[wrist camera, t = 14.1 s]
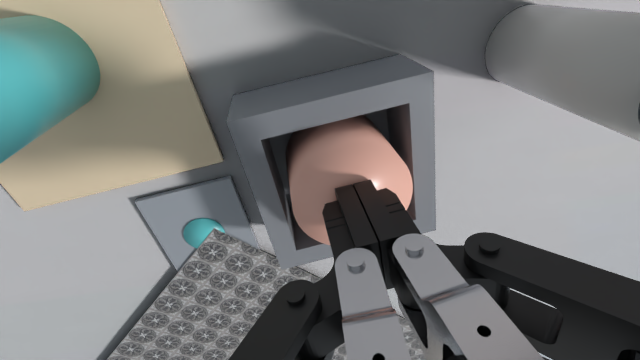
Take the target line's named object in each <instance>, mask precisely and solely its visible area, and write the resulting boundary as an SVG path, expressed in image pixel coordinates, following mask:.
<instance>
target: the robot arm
mask: <svg viewBox="0 0 640 360" xmlns="http://www.w3.org/2000/svg"><path fill="white" fill-rule="evenodd" d="M335 194H336V199H337V201H333V202H329V203H326V204H325V206H324V209H323V212H322V214H323V218H324V222H325V226H326V230H327V234H328V238H329V242H330V246H331V250H332V253H333V257H334V265H333V267H332V269H331V271H330V272H329V273H328V274H327V275H326V276H325V277H324V278H322V279H321V280H319V281H317V282H315V283H312V282H310V281H308V280H302V279H300V280H294V281H291V282H289V283H287V284H285V285H284V286H283V287H281V288H280V290H279V291H278V292H277V293H276V295H275V296H274V298H273V299H272V300H271V302H270V303H269V304H268V306H267V307H266V309H265V310H264V311H263V313H262V314H261V315H260V317H259V318H258V320H257V321H256V322H255V324H254V325H253V326H252V328H251V329H250V331H249V332H248V333H247V335H246V336H245V338H244V339H243V340H242V342H241V343H240V344H239V346H238V347H237V349H236V350H235V351H234V353H233V354H232V355H231V357H230V358H229V360H331V359H332V357H333V355H334V351H335V349H336V348H337V347H339V346H340V345H342V344H343V343H345V347H346V353H347V360H411V357H410V354H409V351H408V348H407V345H406V342H405V338H404V335H403V332H402V329H401V326H400V323H399V320H398V316H397V314H396V311H395V309H393V308H392V305H391V302H390V299H389V296H388V292H387V289H391V288H395V291H396V293H397V295H398V303H399V307H400V309H401V311H402V313H403V315H404V317H405V319H406V321H407V323H408V325H409V326H410V328H411V330H412V332H413V334H414V336H415V338H416V340H417V342H418V344H419V346H420V347H421V349H422V351H423V353H424V355H425V358H426V360H549V359H547V358H544V357H542V356H541V355H540V354H539V353H541V354H543V355H545V356H547V357H549V358H551V359H553V360H640V282H639V281H636V280H633V279H630V278H627V277H624V276H621V275H618V274H615V273H612V272H609V271H606V270H603V269H600V268H597V267H594V266H591V265H588V264H585V263H582V262H579V261H576V260H573V259H570V258H567V257H564V256H561V255H558V254H555V253H552V252H549V251H546V250H543V249H540V248H537V247H534V246H531V245H528V244H525V243H522V242H519V241H516V240H513V239H510V238H507V237H504V236H501V235H497V234H494V233H486V232H485V233H477V234H474V235H471V236H470V237H468V238H467V240H466V241H465V244H464V246H446V245H439V244H435V242H434V241H433V240H432V239H430V238H429V237H427V236H425V235H422V234H421V233H420V231H419V229H418V228H417V226H416V225H415V223H414V222H413V220H412V218H411V217H410V215H409V214H408V212H407V211H406V210H405V207H404V206H403V204H402V203H401V201H400V200H399V198H398V197H397V195H396V194H395V193H394V192H392V191H390V190H389V189H387V188H384V189H380V190H376V188H375V186H374V184H373V183H372V181H371V180H366V181H362V182H358V183H354V184H353V185H352V184H350V185H346V186H342V187H338V188H335ZM510 288H512V289H514V290H517V291H519V292H521V293H524V294H526V295H529V296H531V297H533V298H536V299H538V300H540V301H543V302H545V303H548V304H550V305H552V306H554V307H555V308H557V309H555V308H553V307H550V306H548V305H545V304H543V303H541V302H538V301H536V300H534V299H531V298H529V297H527V296H524V295H522V294H519V293H517V292H515V291H512V290H510ZM538 352H539V353H538Z"/></svg>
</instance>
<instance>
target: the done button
mask: <svg viewBox="0 0 640 360" xmlns="http://www.w3.org/2000/svg"><path fill="white" fill-rule="evenodd" d="M286 166H287V173H288V180H289V187H290V195H291V202H292V209H293V214H294V217H295V219H296V221H297V223H298V225H299V226H300V228H301V229H302V230H303V231H304V232H305V233H306V234H307V235H308V236H310V237H311V238H313V239H314V240H316V241H318V242H321V243H324V244H327V245H330V242H329V238H328V234H327V230H326V226H325V222H324V218H323V214H322V212H323V209H324V206H325V204H326V203H329V202H333V201H337V199H336V194H335V188H338V187H342V186H346V185H350V184H352V185H353V184H354V183H358V182H362V181H366V180H371V181H372V183H373V184H374V186H375V188H376V190H380V189H384V188H387V189H389V190H390V191H392V192H394V193H395V194H396V195H397V197H398V198H399V200H400V201H401V203H402V204H403V206H404V207H405V210H406V211H407V208H408V206H409V204H410V201H411V198H412V192H413V183H412V177H411V174H410V171H409V169H408V167H407V165H406V164H405V163H404V161H403V160H402V159H401V157H400V156H399V155H398V154H397V152H396V151H395V150H394V149H393V147H392V146H391V145H390V144H389V142H388V141H387V140H386V138H385V137H384V136H383V135H382V133H381V132H380V131H379V130H378V128H377V127H376V126H375V125H374V123H373V122H372V121H371V120H370V119H369V118H367V117H366V116H365V115H359V116H355V117H351V118H347V119H343V120H339V121H335V122H331V123H327V124H323V125H319V126H315V127H311V128H307V129H303V130H299V131H295V132H293V134H292V136H291V137H290V139H289V142H288V145H287V149H286Z"/></svg>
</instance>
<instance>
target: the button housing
mask: <svg viewBox="0 0 640 360" xmlns="http://www.w3.org/2000/svg"><path fill="white" fill-rule="evenodd" d="M359 115H365V116H366V117H367V118H369V119H370V120H371V121H372V122H373V123H374V125H375V126H376V127H377V128H378V130H379V131H380V132H381V133H382V135H383V136H384V137H385V138H386V140H387V141H388V142H389V144H390V145H391V146H392V147H393V149H394V150H395V151H396V152H397V154H398V155H399V156H400V157H401V159H402V160H403V161H404V163H405V164H406V165H407V167H408V169H409V171H410V174H411V177H412V183H413V192H412V198H411V201H410V204H409V206H408V208H407V212H408V214H409V215H410V217H411V218H412V220H413V222H414V223H415V225H416V226H417V228H418V229H419V231H420V233H421V234H422V233H426V232H430V231H434V230H436V202H435V132H434V71H432V70H430V69H428V68H426V67H424V66H422V65H420V64H418V63H417V62H415V61H413V60H411V59H409V58H407V57H405V56H403V55H401V54H399V55H395V56H391V57H387V58H382V59H378V60H374V61H370V62H366V63H362V64H358V65H354V66H350V67H346V68H342V69H338V70H333V71H329V72H325V73H321V74H317V75H313V76H309V77H305V78H301V79H297V80H293V81H288V82H284V83H280V84H276V85H272V86H268V87H264V88H260V89H256V90H252V91H248V92H243V93H239V94H235V95H233V97H232V101H231V105H230V109H229V113H228V117H227V122H226V123H227V126H228V129H229V131H230V134H231V137H232V139H233V142H234V145H235V147H236V150H237V153H238V155H239V158H240V161H241V163H242V166H243V169H244V171H245V174H246V177H247V179H248V182H249V185H250V187H251V190H252V193H253V195H254V198H255V201H256V203H257V206H258V209H259V211H260V214H261V217H262V219H263V222H264V225H265V227H266V230H267V233H268V235H269V238H270V241H271V243H272V246H273V249H274V251H275V254H276V257H277V259H278V262H279V265H280V267H281V270H283V269H287V268H291V267H295V266H299V265H303V264H307V263H310V262H314V261H318V260H322V259H326V258H330V257H333V253H332V250H331V246H330V245H327V244H324V243H321V242H318V241H316V240H314V239H313V238H311V237H310V236H308V235H307V234H306V233H305V232H304V231H303V230H302V229H301V228H300V226H299V225H298V223H297V221H296V219H295V217H294V214H293V209H292V202H291V195H290V187H289V180H288V173H287V166H286V149H287V145H288V142H289V139H290V137H291V136H292V134H293V132H295V131H299V130H303V129H307V128H311V127H315V126H319V125H323V124H327V123H331V122H335V121H339V120H343V119H347V118H351V117H355V116H359Z"/></svg>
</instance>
